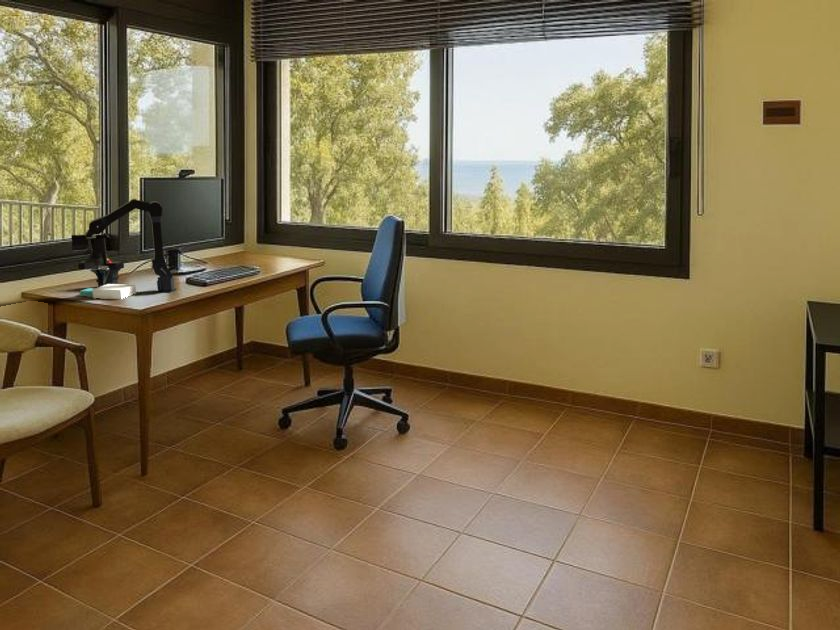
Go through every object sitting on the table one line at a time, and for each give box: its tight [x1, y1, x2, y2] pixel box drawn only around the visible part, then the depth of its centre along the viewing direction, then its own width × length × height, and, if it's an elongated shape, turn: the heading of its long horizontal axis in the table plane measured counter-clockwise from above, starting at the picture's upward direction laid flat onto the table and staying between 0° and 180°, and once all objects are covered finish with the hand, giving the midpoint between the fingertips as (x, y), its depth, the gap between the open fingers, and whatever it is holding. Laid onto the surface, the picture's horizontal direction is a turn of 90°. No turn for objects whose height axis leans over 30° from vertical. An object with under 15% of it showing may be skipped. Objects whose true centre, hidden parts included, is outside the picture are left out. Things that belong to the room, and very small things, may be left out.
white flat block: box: [92, 283, 137, 300], centre depth 323 cm, size 13×12×4 cm
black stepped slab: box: [96, 255, 121, 288], centre depth 339 cm, size 4×13×15 cm, turn 58°
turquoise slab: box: [79, 287, 95, 296], centre depth 325 cm, size 8×6×2 cm
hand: (103, 285), depth 322 cm, fingers closed
